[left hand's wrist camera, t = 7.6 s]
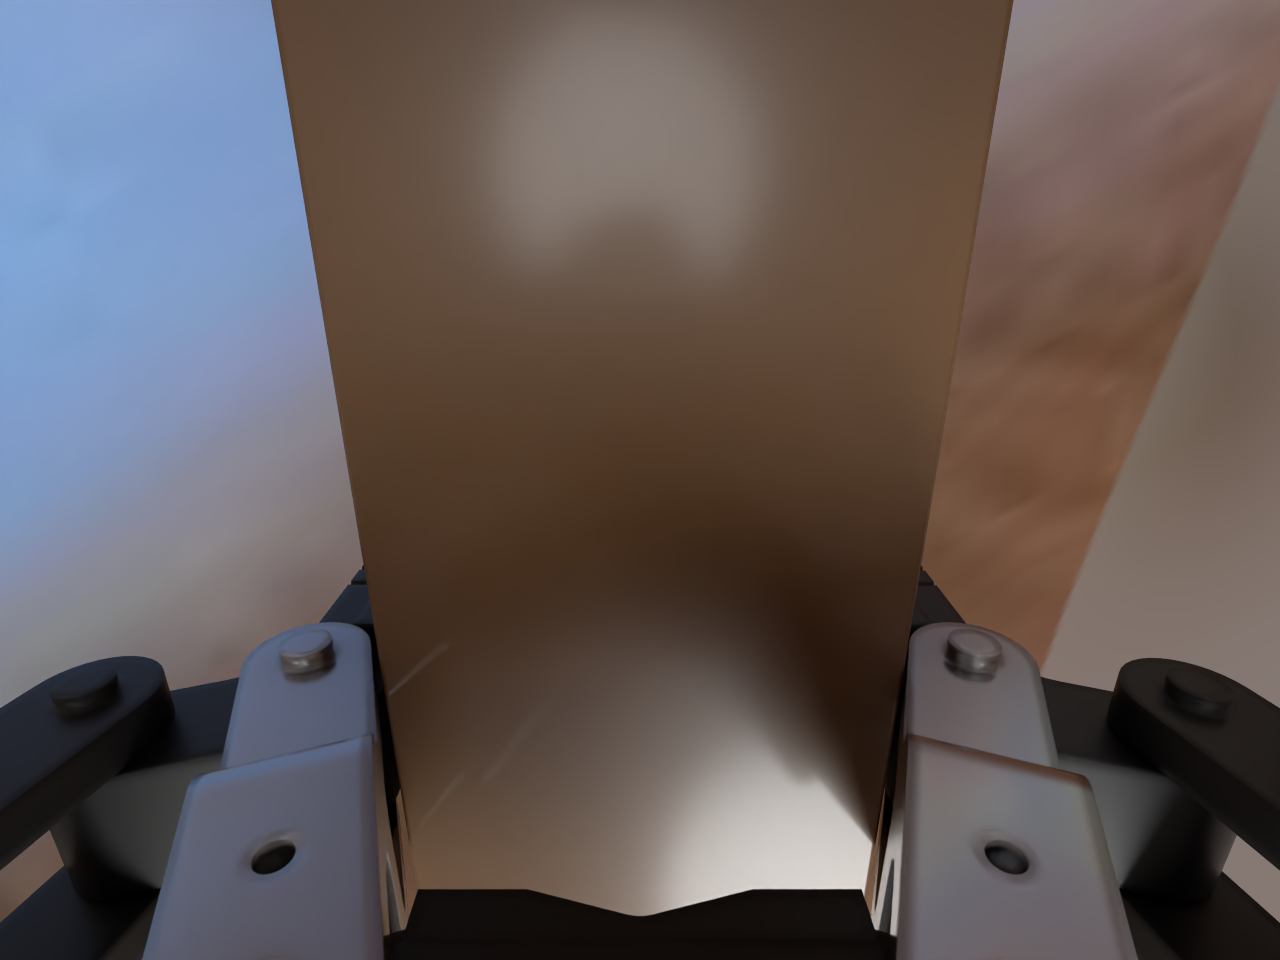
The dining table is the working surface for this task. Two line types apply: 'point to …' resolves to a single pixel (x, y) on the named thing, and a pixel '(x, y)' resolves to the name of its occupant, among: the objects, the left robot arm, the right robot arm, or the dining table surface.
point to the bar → (642, 411)
